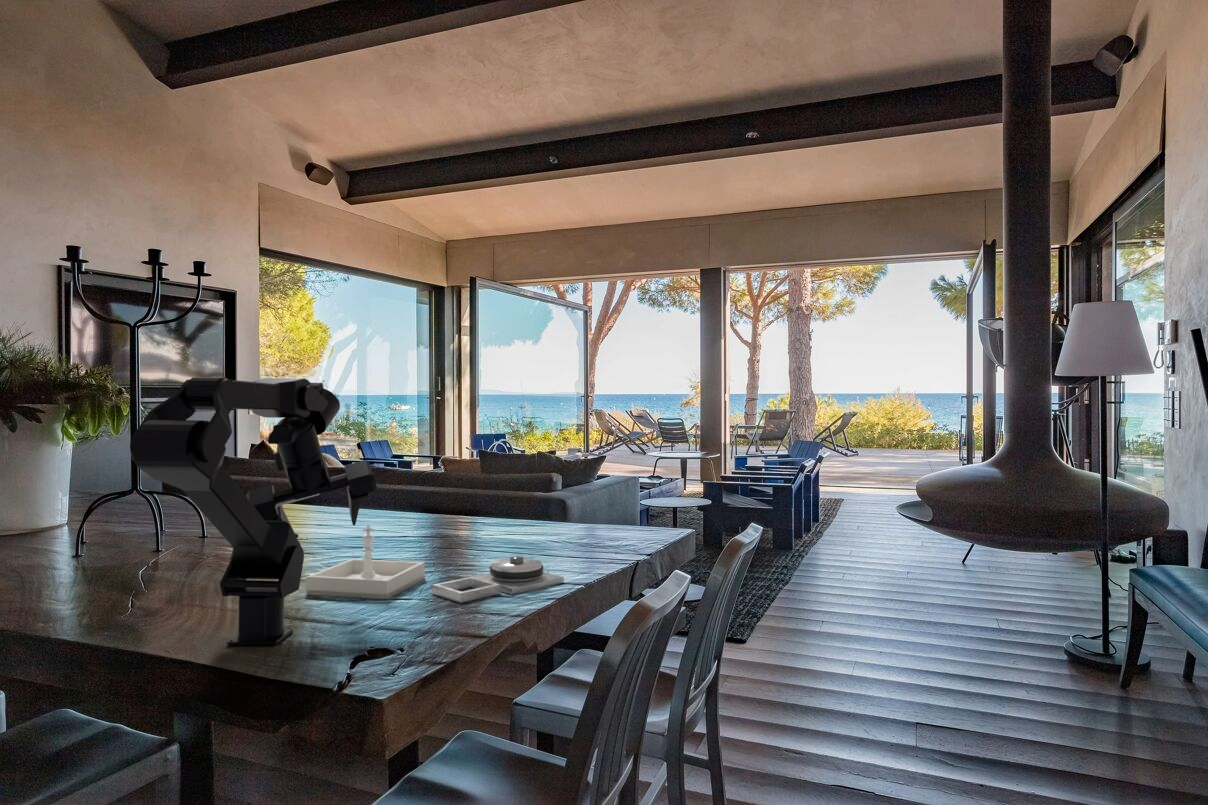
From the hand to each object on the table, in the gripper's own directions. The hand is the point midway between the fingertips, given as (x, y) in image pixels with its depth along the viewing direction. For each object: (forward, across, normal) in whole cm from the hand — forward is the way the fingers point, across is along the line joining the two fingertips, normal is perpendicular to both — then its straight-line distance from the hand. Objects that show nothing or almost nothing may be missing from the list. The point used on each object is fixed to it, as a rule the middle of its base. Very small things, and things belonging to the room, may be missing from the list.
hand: (324, 532), depth 120 cm
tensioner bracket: (+16, -25, +8) cm, 31 cm away
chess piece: (+14, -4, -1) cm, 15 cm away
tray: (+15, -4, -1) cm, 16 cm away
